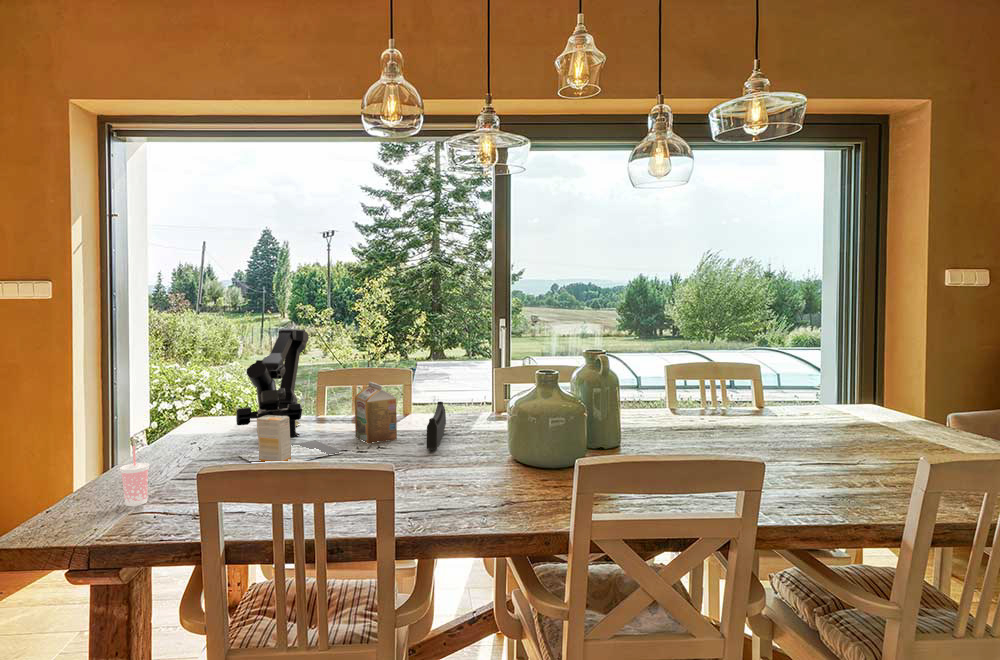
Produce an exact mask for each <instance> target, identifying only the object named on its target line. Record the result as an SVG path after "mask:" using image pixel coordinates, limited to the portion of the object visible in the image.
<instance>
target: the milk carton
mask: <svg viewBox="0 0 1000 660" xmlns="http://www.w3.org/2000/svg"><path fill="white" fill-rule="evenodd" d="M397 415H398V413H397V398H396V396H394V395H393V394H391V393H389V392H388V391H386V390H384V389H383V385H381V384H378V383H376V382H372V381H368V385H367V386H366V387H365V388H363V389H362V390H361V391H359V392H358V393H356V395H355V396H354V419H355V421H354V422H355V425H354V426H355V427H354V428H355V430H354V432H355V438H356V437H357V438H358V440H359V439H361V440H363V441H365V442H367V443H371V444H373V443H372V442H377V441H384V442H387V441H386V440H390V441H395V439H396V440H397V439H398V438H397V437H398V435H397V433H398V432H397V431H398V430H397V429H398V426H397V424H398V423H397ZM357 438H356V439H357ZM361 440H360V441H361ZM363 441H362V442H363ZM365 442H364V443H365ZM367 443H366V444H367ZM377 443H378V442H377Z"/></svg>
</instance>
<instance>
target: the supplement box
mask: <svg viewBox="0 0 1000 660" xmlns="http://www.w3.org/2000/svg"><path fill="white" fill-rule="evenodd" d="M256 429H257V444H258V445H257V446H258V448H257V449H258V450H257V451H259V460H261V461H260V462H265V461H288V459H291V445H292V444H291V437H290V425H289V417H287V416H273V415H266V416H263V417H260V418H256Z"/></svg>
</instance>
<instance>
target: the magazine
mask: <svg viewBox="0 0 1000 660" xmlns="http://www.w3.org/2000/svg"><path fill="white" fill-rule="evenodd" d="M446 418H447V417H446V408H445V406H444V402H443V401H437V405H436V409H435V412H434V415H433V416H432V417H430V418H429V419H428V420H429V421H428V423H427V425H426V448H425V449H426V450H437V448H438V447H439V446H440V444H441V442H442V440H443V436H444V433H445V429H446V424H447V419H446Z"/></svg>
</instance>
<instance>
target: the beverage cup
mask: <svg viewBox="0 0 1000 660" xmlns="http://www.w3.org/2000/svg"><path fill="white" fill-rule="evenodd" d="M136 458H137V457H136V445H132V459H133V461H132V462H133V463H132V462H131V463H128V464H127V463H126V464H125V465H122V466H120V467H119V471H120V472H119V473H121V480H122V489H123V497H124V505H125V506H127V507H136V506H141V505H143V504H146V503H147V502H148V491H149V489H148V488H149V486H148V485H149V484H148V483H149V469H150V463H148V462H137V461H136Z"/></svg>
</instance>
